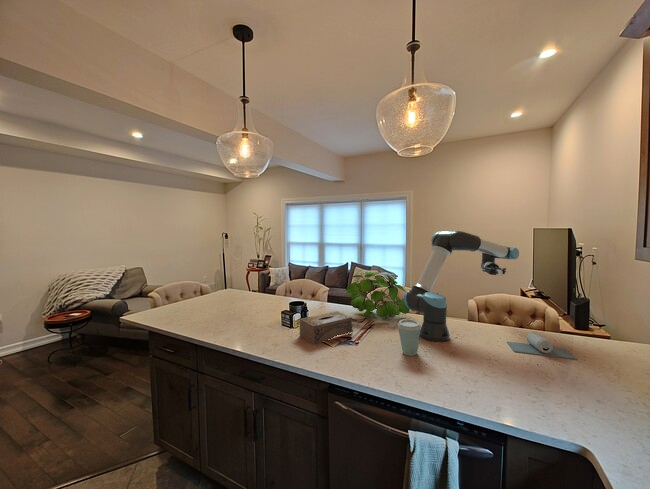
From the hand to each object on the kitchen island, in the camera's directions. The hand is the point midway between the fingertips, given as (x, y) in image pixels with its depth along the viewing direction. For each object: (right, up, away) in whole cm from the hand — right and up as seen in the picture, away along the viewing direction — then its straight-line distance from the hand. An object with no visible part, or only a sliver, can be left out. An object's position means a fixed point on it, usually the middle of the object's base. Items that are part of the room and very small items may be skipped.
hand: (500, 273), depth 152 cm
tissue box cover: (-99, -35, 0) cm, 105 cm away
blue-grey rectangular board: (+4, -35, -22) cm, 41 cm away
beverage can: (+6, -31, -15) cm, 35 cm away
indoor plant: (-63, -33, +37) cm, 80 cm away
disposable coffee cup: (-59, -36, -24) cm, 73 cm away
